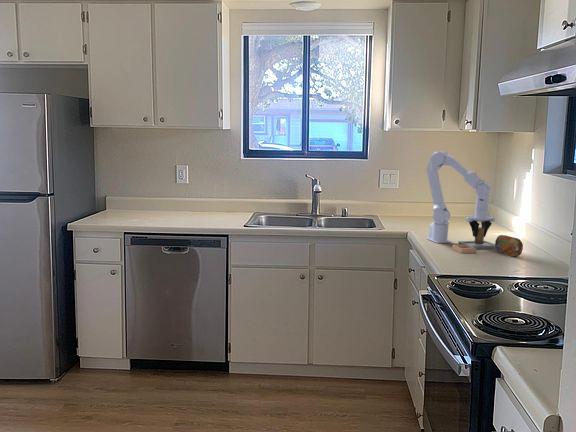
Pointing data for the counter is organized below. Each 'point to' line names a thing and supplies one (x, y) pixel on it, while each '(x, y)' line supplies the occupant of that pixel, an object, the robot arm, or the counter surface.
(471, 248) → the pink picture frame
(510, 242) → the tin
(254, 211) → the counter surface
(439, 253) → the counter surface
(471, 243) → the tray
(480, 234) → the brown rounded cylinder
